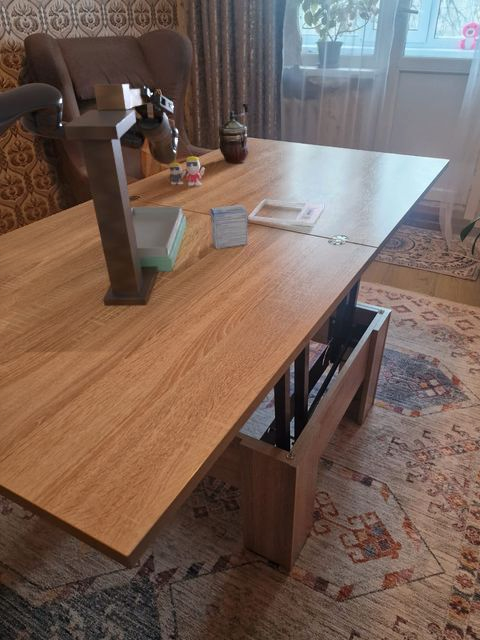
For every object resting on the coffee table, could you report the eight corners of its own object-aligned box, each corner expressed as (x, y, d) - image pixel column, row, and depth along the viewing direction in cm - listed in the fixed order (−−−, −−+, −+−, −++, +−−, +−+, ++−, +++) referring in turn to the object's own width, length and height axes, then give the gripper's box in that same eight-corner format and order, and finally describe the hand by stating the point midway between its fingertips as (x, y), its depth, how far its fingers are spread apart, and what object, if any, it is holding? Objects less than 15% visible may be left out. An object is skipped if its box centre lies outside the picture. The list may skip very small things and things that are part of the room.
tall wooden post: (104, 305, 93) (63, 126, 74) (120, 272, 104) (89, 110, 85) (146, 305, 93) (115, 125, 74) (157, 272, 104) (134, 109, 86)
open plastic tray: (107, 272, 105) (102, 249, 101) (133, 225, 126) (130, 206, 123) (172, 271, 105) (169, 249, 102) (186, 225, 127) (184, 205, 124)
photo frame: (313, 222, 124) (247, 215, 129) (313, 226, 125) (248, 219, 129) (325, 204, 136) (264, 198, 140) (324, 208, 136) (264, 202, 141)
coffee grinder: (259, 156, 184) (259, 104, 174) (242, 165, 173) (241, 110, 163) (230, 153, 188) (228, 101, 178) (211, 162, 177) (208, 108, 167)
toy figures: (167, 184, 155) (164, 157, 150) (171, 180, 159) (168, 154, 154) (203, 186, 154) (201, 159, 149) (206, 182, 157) (205, 155, 152)
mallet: (97, 110, 85) (93, 84, 83) (128, 104, 106) (125, 83, 104) (125, 109, 85) (122, 84, 83) (151, 103, 106) (148, 83, 104)
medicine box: (243, 238, 119) (242, 204, 114) (248, 245, 116) (247, 210, 111) (212, 242, 117) (209, 207, 112) (216, 249, 114) (214, 214, 109)
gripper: (181, 136, 119) (167, 108, 101) (124, 137, 119) (101, 109, 101) (180, 105, 118) (166, 71, 101) (122, 105, 118) (99, 71, 101)
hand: (133, 90), depth 101 cm, fingers closed on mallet, 3 cm apart
